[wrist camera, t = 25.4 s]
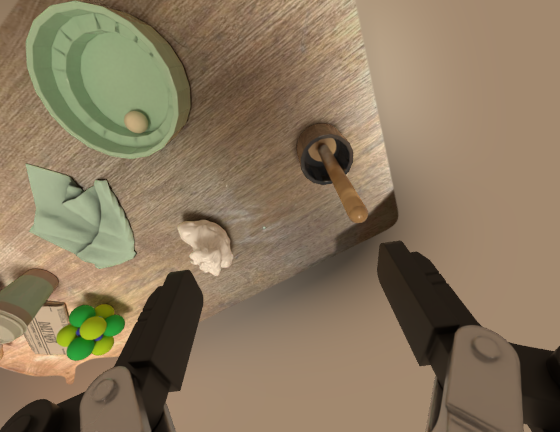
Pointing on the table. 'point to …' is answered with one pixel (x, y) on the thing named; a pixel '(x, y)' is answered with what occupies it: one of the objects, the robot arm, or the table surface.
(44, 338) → the newspaper
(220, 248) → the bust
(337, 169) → the wooden plunger
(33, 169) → the cloth
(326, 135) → the crock
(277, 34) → the table surface
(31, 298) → the coffee cup
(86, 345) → the molecule model
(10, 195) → the table surface
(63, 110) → the bowl
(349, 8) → the table surface
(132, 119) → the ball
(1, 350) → the kitten
